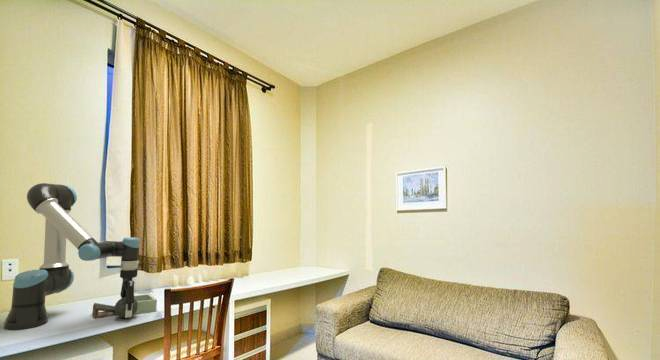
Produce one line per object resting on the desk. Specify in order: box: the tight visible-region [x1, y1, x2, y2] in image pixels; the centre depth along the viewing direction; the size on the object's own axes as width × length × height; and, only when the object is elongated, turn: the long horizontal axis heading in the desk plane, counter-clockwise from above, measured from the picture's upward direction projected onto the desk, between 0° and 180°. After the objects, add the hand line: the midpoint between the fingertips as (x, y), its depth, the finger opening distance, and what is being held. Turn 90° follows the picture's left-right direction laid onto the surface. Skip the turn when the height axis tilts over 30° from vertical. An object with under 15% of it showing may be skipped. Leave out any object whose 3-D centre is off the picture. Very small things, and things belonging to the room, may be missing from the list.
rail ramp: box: [91, 302, 118, 319], centre depth 176 cm, size 10×9×6 cm
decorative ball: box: [114, 297, 138, 319], centre depth 173 cm, size 10×10×10 cm
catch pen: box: [133, 293, 158, 316], centre depth 187 cm, size 11×15×6 cm
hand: (125, 314), depth 172 cm, fingers open, 11 cm apart
